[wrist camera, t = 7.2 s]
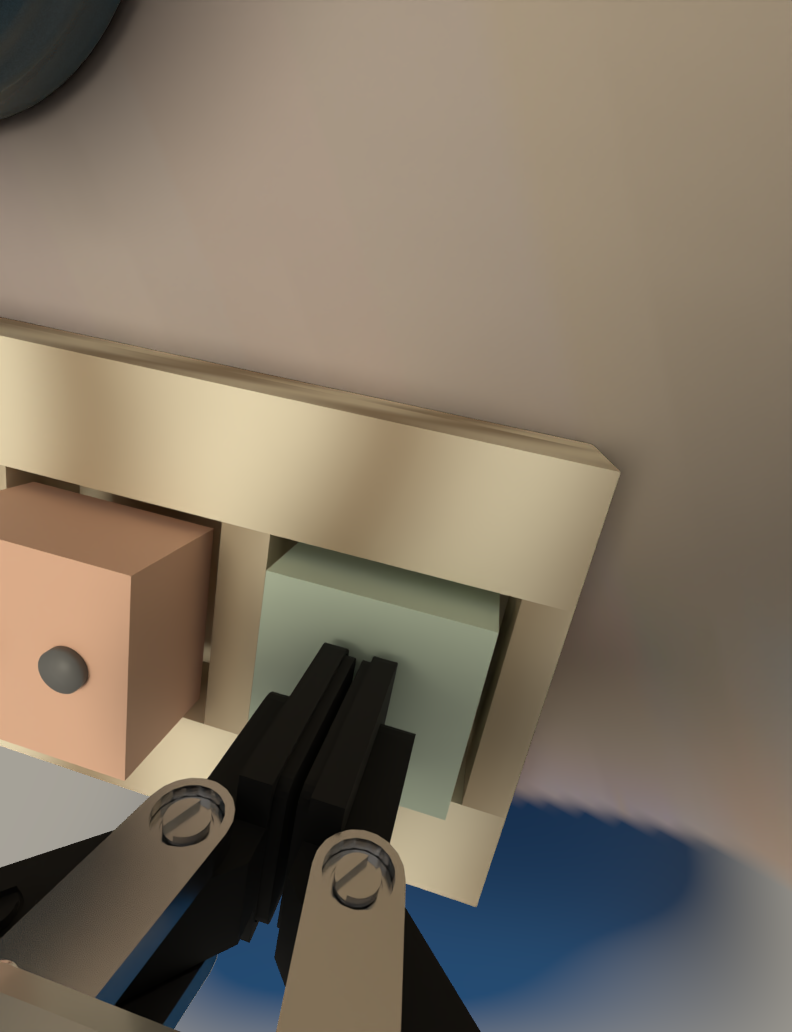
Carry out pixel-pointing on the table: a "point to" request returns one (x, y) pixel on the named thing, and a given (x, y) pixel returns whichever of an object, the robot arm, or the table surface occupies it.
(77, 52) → the canister
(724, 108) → the table surface
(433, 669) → the tile
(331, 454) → the wooden tile tray
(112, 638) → the orange square block
